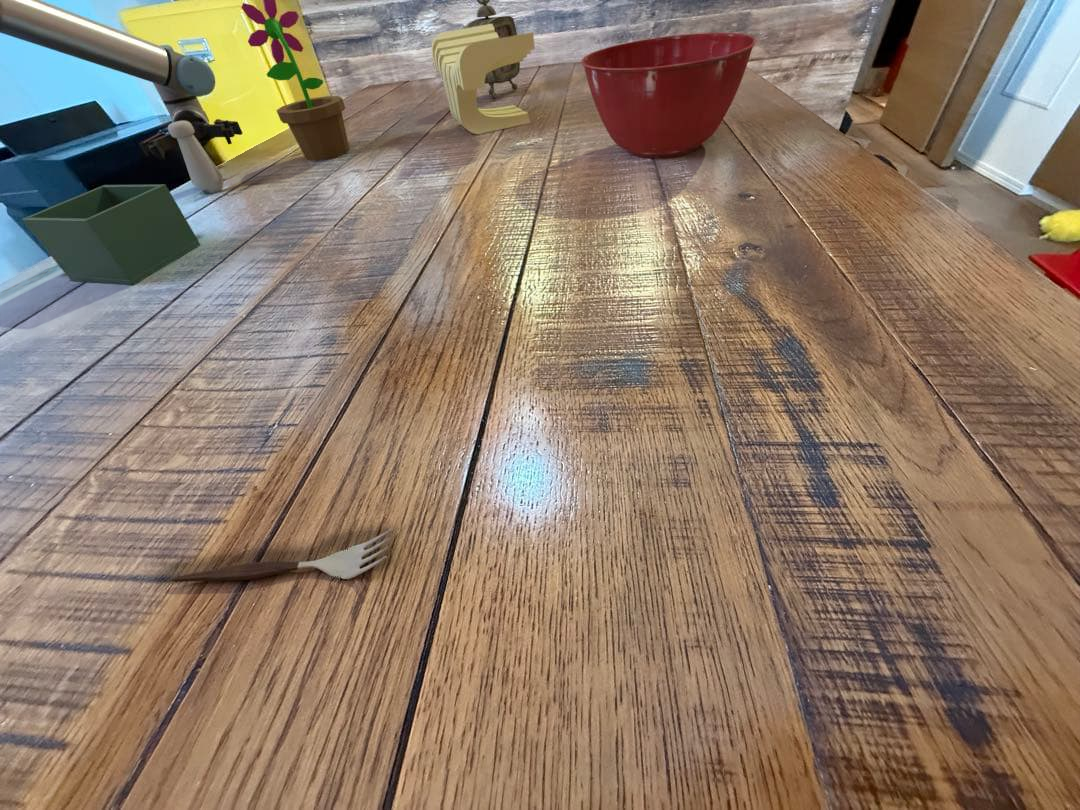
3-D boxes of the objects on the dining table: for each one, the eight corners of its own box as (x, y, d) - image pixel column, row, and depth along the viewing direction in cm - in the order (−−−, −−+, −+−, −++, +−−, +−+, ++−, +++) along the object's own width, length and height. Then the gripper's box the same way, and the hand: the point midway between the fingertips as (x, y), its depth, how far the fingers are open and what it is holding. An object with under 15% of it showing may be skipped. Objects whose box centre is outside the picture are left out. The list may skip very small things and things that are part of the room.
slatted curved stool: (445, 119, 132) (427, 35, 120) (503, 106, 135) (492, 23, 123) (474, 145, 110) (455, 46, 98) (542, 130, 113) (533, 32, 101)
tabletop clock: (496, 101, 140) (478, -15, 124) (470, 101, 144) (449, -12, 128) (523, 88, 149) (510, -22, 132) (498, 89, 153) (482, -19, 136)
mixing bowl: (574, 176, 89) (567, 72, 78) (596, 129, 109) (593, 41, 99) (746, 169, 82) (764, 54, 72) (736, 120, 102) (749, 26, 92)
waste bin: (71, 281, 79) (21, 219, 73) (142, 242, 88) (104, 184, 82) (132, 285, 75) (86, 220, 69) (200, 244, 85) (165, 184, 78)
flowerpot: (339, 141, 127) (286, -14, 107) (369, 148, 119) (317, -19, 99) (286, 158, 120) (218, -3, 100) (314, 167, 112) (246, -7, 92)
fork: (184, 566, 37) (168, 551, 36) (400, 542, 36) (392, 525, 35) (167, 600, 35) (149, 586, 34) (395, 575, 34) (385, 559, 33)
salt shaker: (219, 194, 105) (182, 124, 96) (193, 197, 105) (154, 128, 97) (232, 184, 109) (198, 116, 101) (207, 187, 110) (171, 120, 101)
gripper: (253, 132, 129) (262, 149, 114) (144, 157, 121) (139, 179, 107) (238, 98, 124) (245, 111, 109) (124, 122, 116) (115, 140, 102)
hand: (193, 145), depth 108 cm, fingers open, 13 cm apart
